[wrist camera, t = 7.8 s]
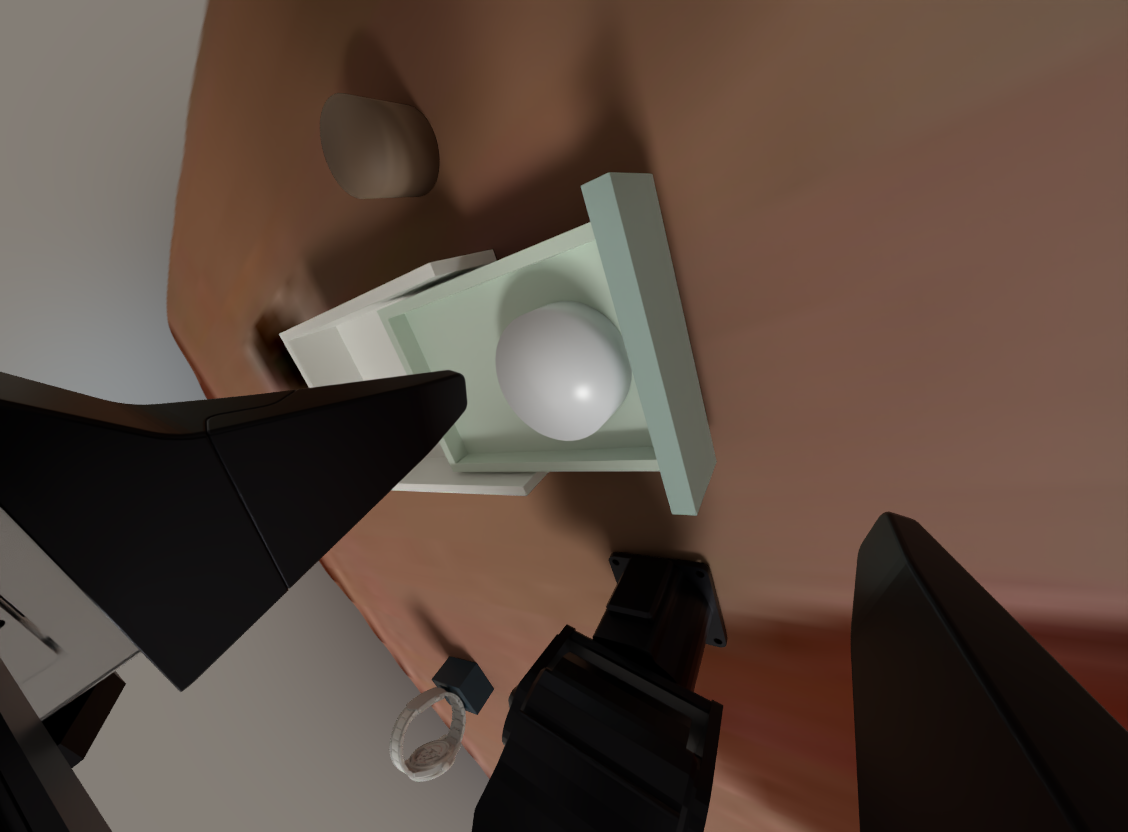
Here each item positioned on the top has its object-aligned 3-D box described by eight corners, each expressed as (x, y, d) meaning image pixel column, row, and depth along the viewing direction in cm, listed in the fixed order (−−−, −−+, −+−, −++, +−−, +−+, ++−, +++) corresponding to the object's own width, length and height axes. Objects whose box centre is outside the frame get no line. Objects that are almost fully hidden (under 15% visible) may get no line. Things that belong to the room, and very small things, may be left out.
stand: (450, 178, 20) (395, 178, 18) (404, 208, 23) (349, 211, 20) (416, 87, 19) (352, 72, 16) (370, 128, 21) (307, 121, 19)
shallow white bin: (566, 453, 25) (526, 495, 22) (412, 458, 34) (366, 489, 31) (492, 249, 21) (429, 262, 18) (339, 316, 30) (278, 334, 27)
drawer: (716, 461, 19) (696, 515, 16) (480, 465, 28) (439, 500, 25) (652, 173, 15) (609, 172, 12) (400, 286, 24) (339, 302, 21)
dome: (648, 414, 18) (631, 435, 17) (545, 427, 22) (523, 445, 20) (608, 283, 16) (585, 292, 15) (503, 319, 20) (476, 330, 18)
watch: (473, 691, 53) (408, 787, 44) (442, 646, 51) (368, 737, 42) (502, 700, 49) (437, 806, 41) (469, 652, 47) (395, 753, 39)
